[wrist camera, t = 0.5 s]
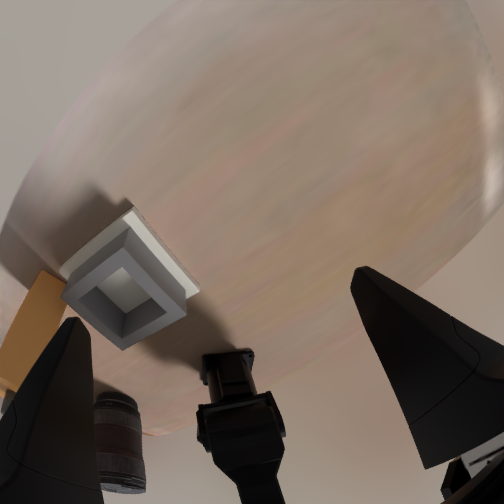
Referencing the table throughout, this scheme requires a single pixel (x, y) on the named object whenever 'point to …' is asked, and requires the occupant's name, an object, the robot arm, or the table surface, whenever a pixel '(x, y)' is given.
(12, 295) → the table surface
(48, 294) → the plug
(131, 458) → the camera lens
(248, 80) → the table surface
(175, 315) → the socket
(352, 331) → the table surface
